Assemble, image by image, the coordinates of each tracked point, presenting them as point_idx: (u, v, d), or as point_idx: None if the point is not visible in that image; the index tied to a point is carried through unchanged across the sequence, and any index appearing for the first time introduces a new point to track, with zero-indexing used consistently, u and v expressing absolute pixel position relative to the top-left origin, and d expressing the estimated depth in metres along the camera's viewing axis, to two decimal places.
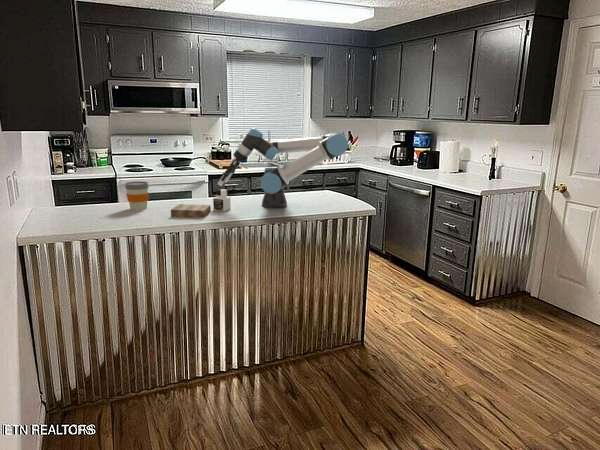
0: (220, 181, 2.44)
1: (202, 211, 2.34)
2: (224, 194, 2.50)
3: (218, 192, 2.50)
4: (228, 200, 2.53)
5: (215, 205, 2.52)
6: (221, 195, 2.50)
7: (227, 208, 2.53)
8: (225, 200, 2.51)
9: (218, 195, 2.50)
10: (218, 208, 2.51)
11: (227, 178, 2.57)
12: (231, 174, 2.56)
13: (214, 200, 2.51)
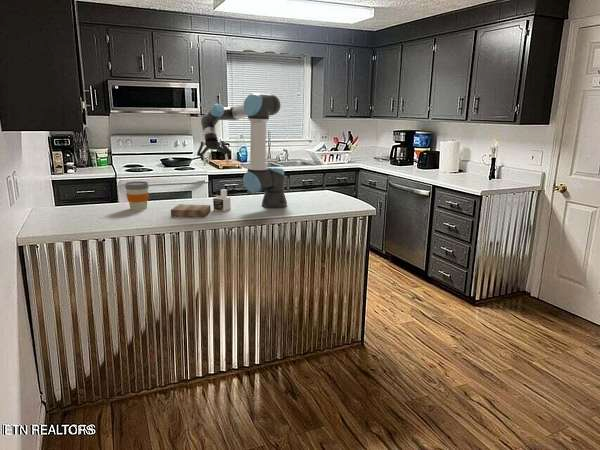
0: (203, 161, 2.59)
1: (202, 211, 2.34)
2: (224, 194, 2.50)
3: (218, 192, 2.50)
4: (228, 200, 2.53)
5: (215, 205, 2.52)
6: (221, 195, 2.50)
7: (227, 208, 2.53)
8: (225, 200, 2.51)
9: (218, 195, 2.50)
10: (218, 208, 2.51)
11: (226, 159, 2.63)
12: (225, 154, 2.64)
13: (214, 200, 2.51)
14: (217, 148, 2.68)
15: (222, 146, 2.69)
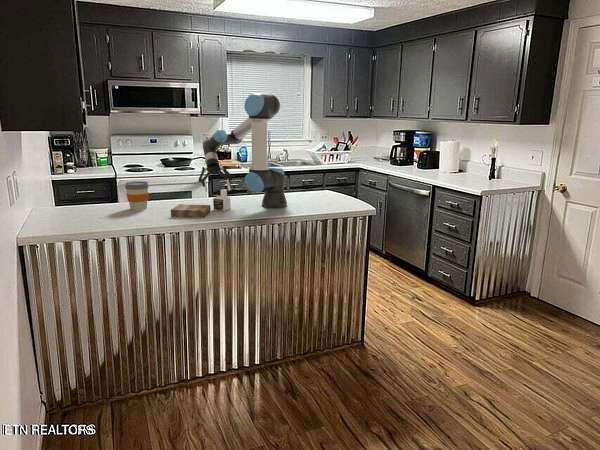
0: (205, 188, 2.56)
1: (202, 211, 2.34)
2: (224, 194, 2.50)
3: (218, 192, 2.50)
4: (228, 200, 2.53)
5: (215, 205, 2.52)
6: (221, 195, 2.50)
7: (227, 208, 2.53)
8: (225, 200, 2.51)
9: (218, 195, 2.50)
10: (218, 208, 2.51)
11: (228, 185, 2.60)
12: (227, 180, 2.61)
13: (214, 200, 2.51)
14: None
15: (224, 171, 2.66)
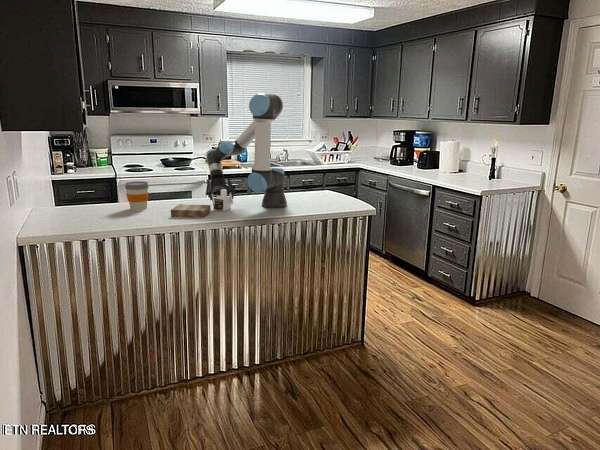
0: (212, 201, 2.50)
1: (202, 211, 2.34)
2: (224, 194, 2.50)
3: (218, 192, 2.50)
4: (228, 200, 2.53)
5: (215, 205, 2.52)
6: (221, 195, 2.50)
7: (227, 208, 2.53)
8: (225, 200, 2.51)
9: (218, 195, 2.50)
10: (218, 208, 2.51)
11: (230, 199, 2.54)
12: (229, 193, 2.55)
13: (214, 200, 2.51)
14: None
15: (228, 183, 2.60)
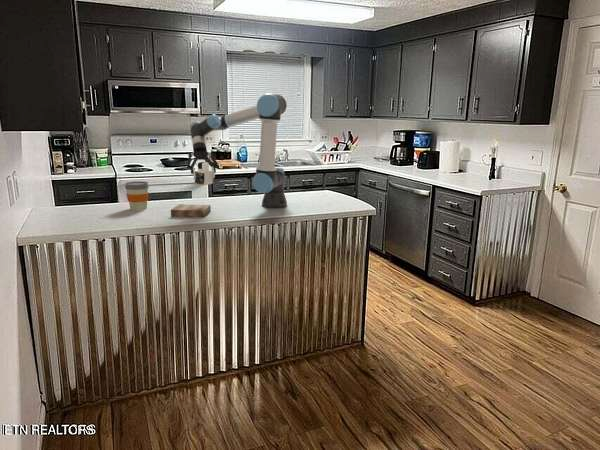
0: (193, 175, 2.42)
1: (202, 211, 2.34)
2: (206, 168, 2.42)
3: (199, 165, 2.41)
4: (210, 174, 2.44)
5: (196, 179, 2.43)
6: (202, 168, 2.41)
7: (209, 182, 2.45)
8: (206, 174, 2.42)
9: (199, 168, 2.41)
10: (200, 182, 2.43)
11: (212, 173, 2.45)
12: (212, 167, 2.46)
13: (195, 174, 2.43)
14: None
15: (211, 157, 2.51)
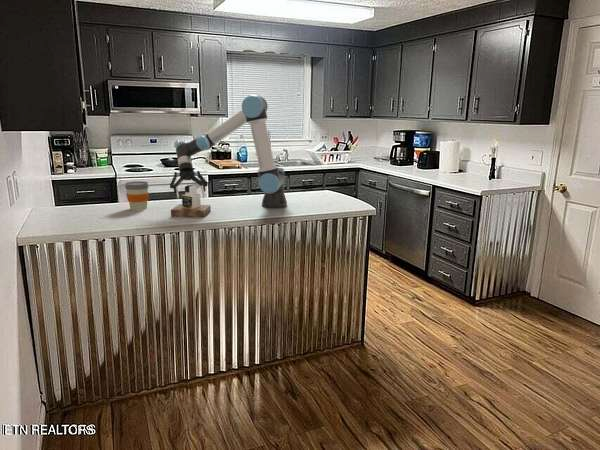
0: None
1: (202, 211, 2.34)
2: (193, 191, 2.37)
3: (187, 189, 2.36)
4: (198, 197, 2.39)
5: (184, 202, 2.38)
6: (190, 192, 2.36)
7: (197, 206, 2.40)
8: (194, 197, 2.37)
9: (187, 192, 2.36)
10: (187, 206, 2.38)
11: (202, 191, 2.40)
12: (201, 186, 2.41)
13: (183, 197, 2.38)
14: (193, 179, 2.45)
15: (198, 176, 2.46)
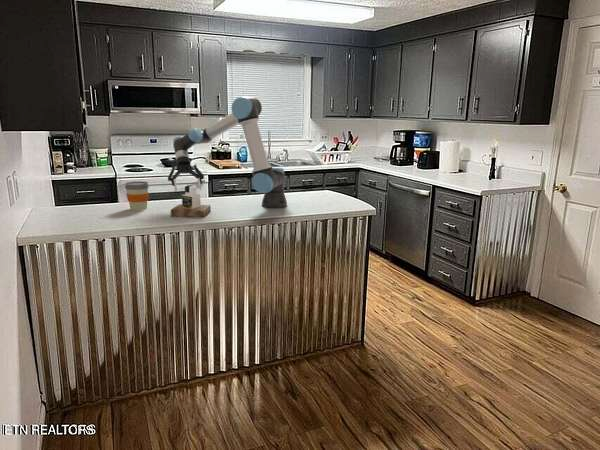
0: None
1: (202, 211, 2.34)
2: (193, 191, 2.37)
3: (187, 189, 2.36)
4: (198, 197, 2.39)
5: (184, 202, 2.38)
6: (190, 192, 2.36)
7: (197, 206, 2.40)
8: (194, 197, 2.37)
9: (187, 192, 2.36)
10: (187, 206, 2.38)
11: (199, 184, 2.52)
12: (198, 178, 2.53)
13: (183, 197, 2.38)
14: (189, 172, 2.57)
15: (195, 170, 2.58)
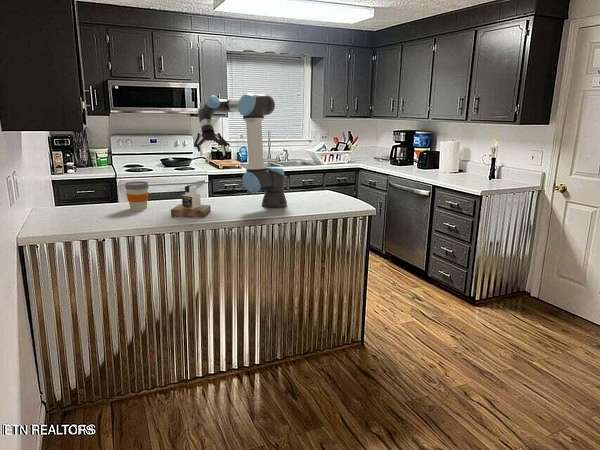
0: (200, 152, 2.62)
1: (202, 211, 2.34)
2: (193, 191, 2.37)
3: (187, 189, 2.36)
4: (198, 197, 2.39)
5: (184, 202, 2.38)
6: (190, 192, 2.36)
7: (197, 206, 2.40)
8: (194, 197, 2.37)
9: (187, 192, 2.36)
10: (187, 206, 2.38)
11: (223, 150, 2.66)
12: (222, 145, 2.67)
13: (183, 197, 2.38)
14: None
15: (219, 137, 2.72)
